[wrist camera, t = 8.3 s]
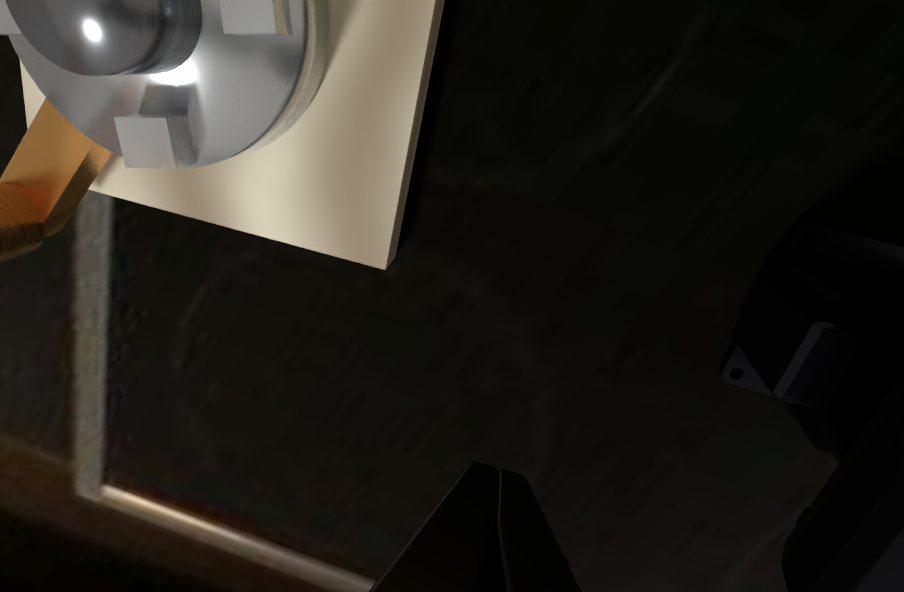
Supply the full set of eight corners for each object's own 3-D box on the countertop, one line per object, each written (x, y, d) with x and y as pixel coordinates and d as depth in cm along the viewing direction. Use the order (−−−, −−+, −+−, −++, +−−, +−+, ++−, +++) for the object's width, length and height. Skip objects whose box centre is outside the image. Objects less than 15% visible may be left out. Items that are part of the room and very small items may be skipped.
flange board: (473, -150, 16) (466, -170, 14) (395, 256, 21) (385, 269, 20) (28, -253, 16) (-19, -282, 15) (64, 167, 22) (32, 174, 20)
